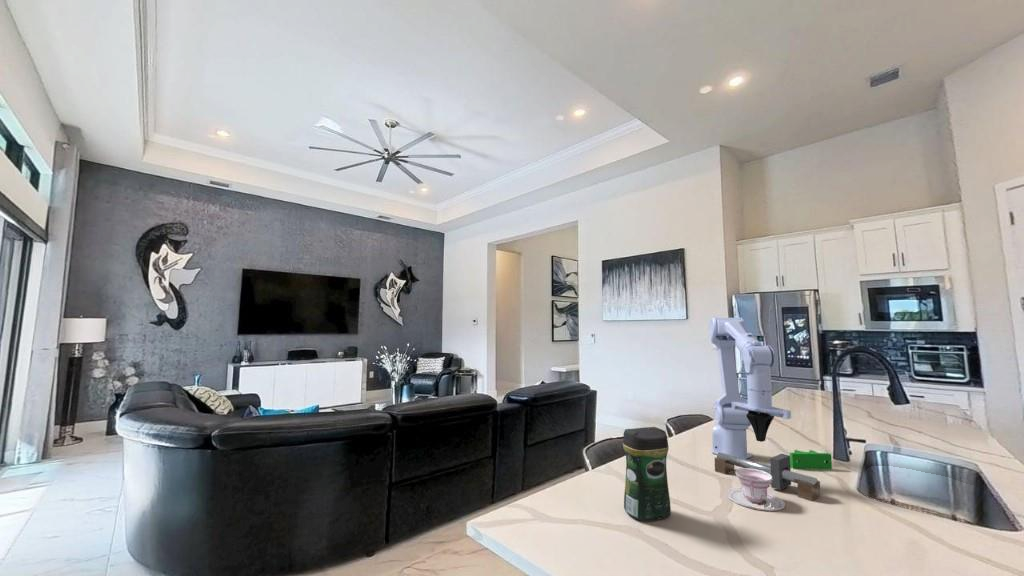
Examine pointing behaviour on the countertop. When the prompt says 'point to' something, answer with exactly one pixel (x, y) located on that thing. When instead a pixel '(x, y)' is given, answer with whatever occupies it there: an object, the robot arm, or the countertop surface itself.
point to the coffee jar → (646, 474)
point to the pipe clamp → (810, 460)
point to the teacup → (755, 490)
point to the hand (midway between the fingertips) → (760, 440)
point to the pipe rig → (806, 484)
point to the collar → (779, 471)
